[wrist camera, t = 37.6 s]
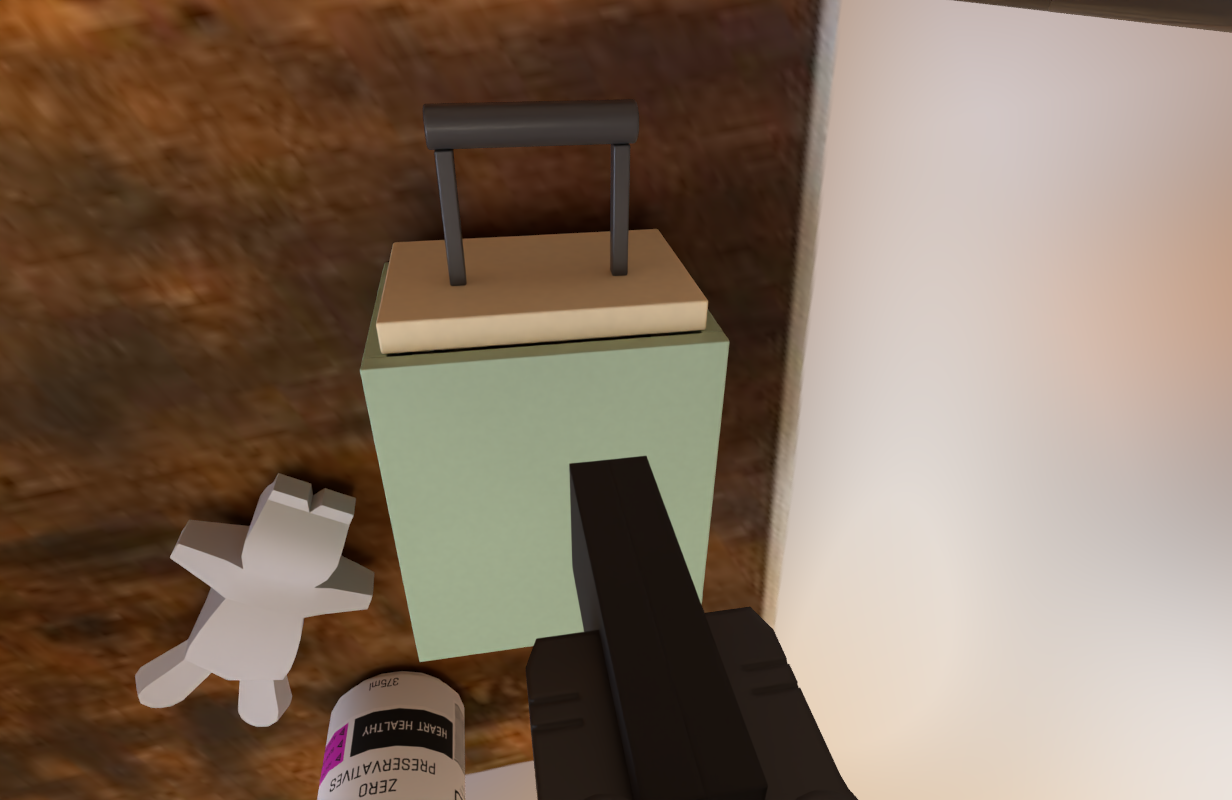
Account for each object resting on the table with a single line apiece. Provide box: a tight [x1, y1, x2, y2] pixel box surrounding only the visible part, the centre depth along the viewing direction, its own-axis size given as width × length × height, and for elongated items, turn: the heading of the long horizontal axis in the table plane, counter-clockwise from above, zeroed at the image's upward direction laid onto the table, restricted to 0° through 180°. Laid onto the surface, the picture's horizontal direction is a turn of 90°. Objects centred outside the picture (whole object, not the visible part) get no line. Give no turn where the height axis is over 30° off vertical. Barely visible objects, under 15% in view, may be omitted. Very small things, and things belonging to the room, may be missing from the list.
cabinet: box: [360, 262, 729, 662], centre depth 32 cm, size 15×13×10 cm
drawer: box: [376, 99, 708, 355], centre depth 30 cm, size 20×11×8 cm, turn 179°
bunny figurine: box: [135, 473, 374, 726], centre depth 37 cm, size 10×5×15 cm
